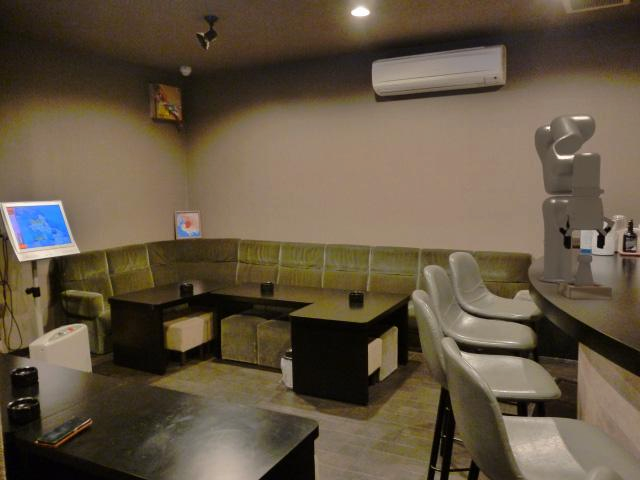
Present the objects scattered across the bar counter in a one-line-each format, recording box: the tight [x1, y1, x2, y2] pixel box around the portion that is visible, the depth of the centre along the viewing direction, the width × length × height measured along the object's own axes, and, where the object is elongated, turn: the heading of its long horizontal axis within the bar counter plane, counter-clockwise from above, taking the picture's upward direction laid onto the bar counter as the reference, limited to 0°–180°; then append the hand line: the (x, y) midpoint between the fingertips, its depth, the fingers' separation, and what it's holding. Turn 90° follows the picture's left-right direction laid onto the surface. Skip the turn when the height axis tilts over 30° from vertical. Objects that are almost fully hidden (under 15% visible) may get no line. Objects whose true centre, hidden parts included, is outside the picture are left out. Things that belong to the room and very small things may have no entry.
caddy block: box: [557, 281, 613, 301], centre depth 158 cm, size 12×11×4 cm
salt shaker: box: [574, 253, 595, 287], centre depth 158 cm, size 6×6×13 cm
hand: (583, 248), depth 158 cm, fingers open, 9 cm apart
